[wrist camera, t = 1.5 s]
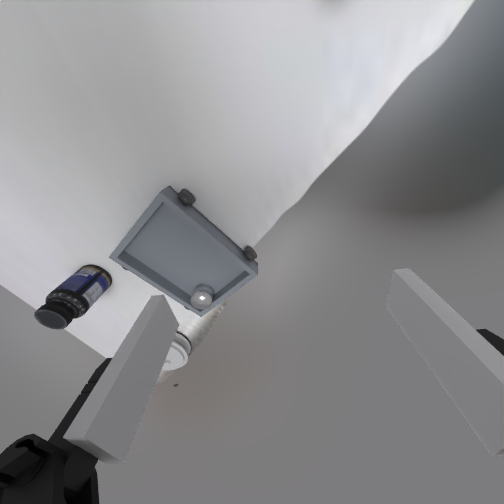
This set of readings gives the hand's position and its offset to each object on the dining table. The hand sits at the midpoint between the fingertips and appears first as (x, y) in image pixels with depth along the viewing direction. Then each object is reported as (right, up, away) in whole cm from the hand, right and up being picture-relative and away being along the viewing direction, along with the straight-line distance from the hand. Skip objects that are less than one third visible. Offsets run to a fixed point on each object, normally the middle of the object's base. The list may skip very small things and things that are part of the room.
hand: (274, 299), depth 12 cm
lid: (-23, -20, +41) cm, 51 cm away
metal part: (-11, -5, +29) cm, 32 cm away
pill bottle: (-33, -2, +30) cm, 44 cm away
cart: (-13, +2, +26) cm, 29 cm away
